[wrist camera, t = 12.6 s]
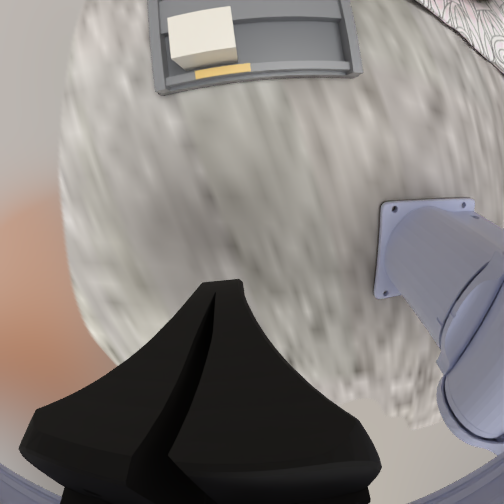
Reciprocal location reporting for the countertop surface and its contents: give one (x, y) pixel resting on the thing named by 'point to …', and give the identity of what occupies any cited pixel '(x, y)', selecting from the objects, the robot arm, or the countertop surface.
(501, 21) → the cookie jar
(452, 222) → the robot arm
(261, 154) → the countertop surface
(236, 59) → the tab
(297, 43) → the tray
